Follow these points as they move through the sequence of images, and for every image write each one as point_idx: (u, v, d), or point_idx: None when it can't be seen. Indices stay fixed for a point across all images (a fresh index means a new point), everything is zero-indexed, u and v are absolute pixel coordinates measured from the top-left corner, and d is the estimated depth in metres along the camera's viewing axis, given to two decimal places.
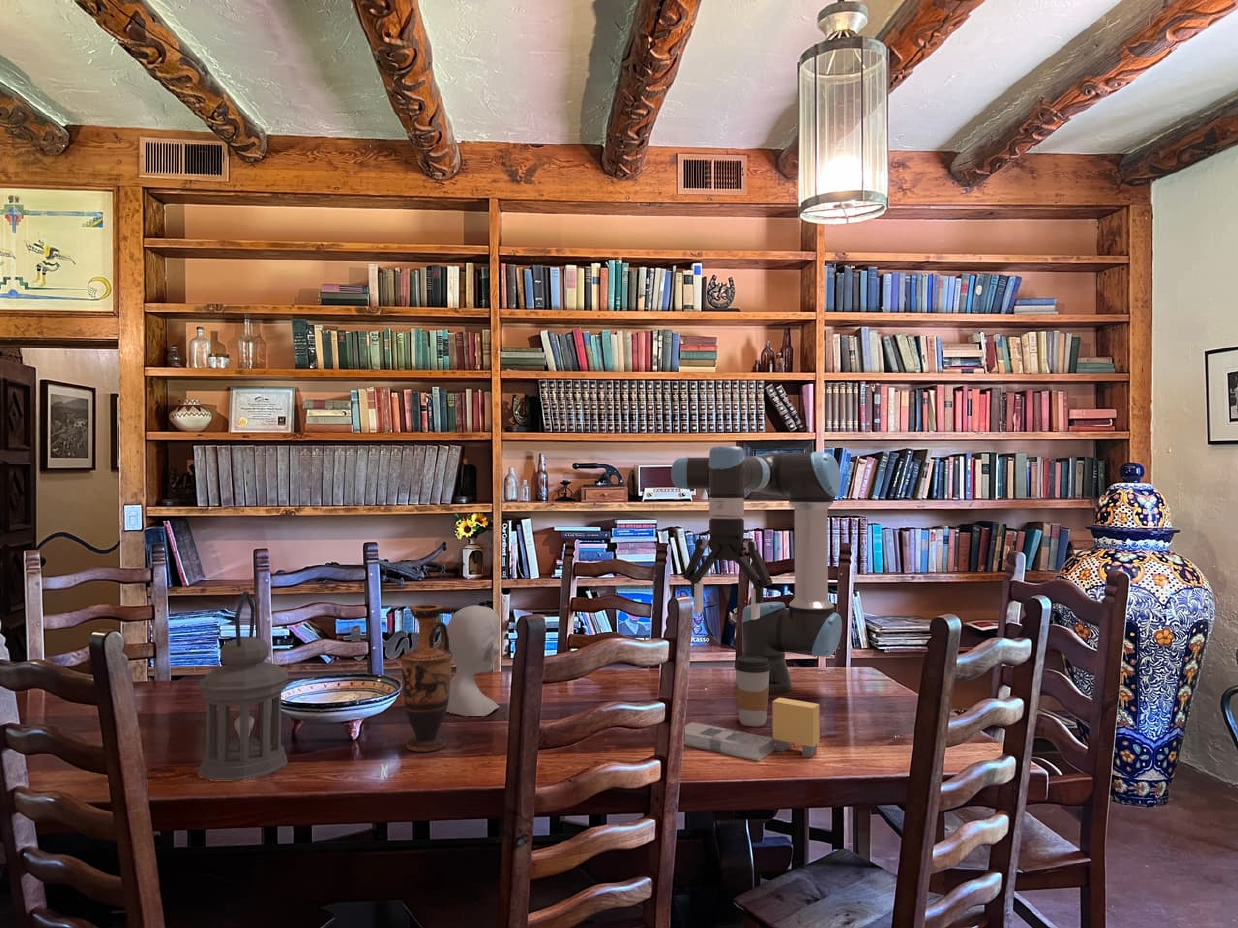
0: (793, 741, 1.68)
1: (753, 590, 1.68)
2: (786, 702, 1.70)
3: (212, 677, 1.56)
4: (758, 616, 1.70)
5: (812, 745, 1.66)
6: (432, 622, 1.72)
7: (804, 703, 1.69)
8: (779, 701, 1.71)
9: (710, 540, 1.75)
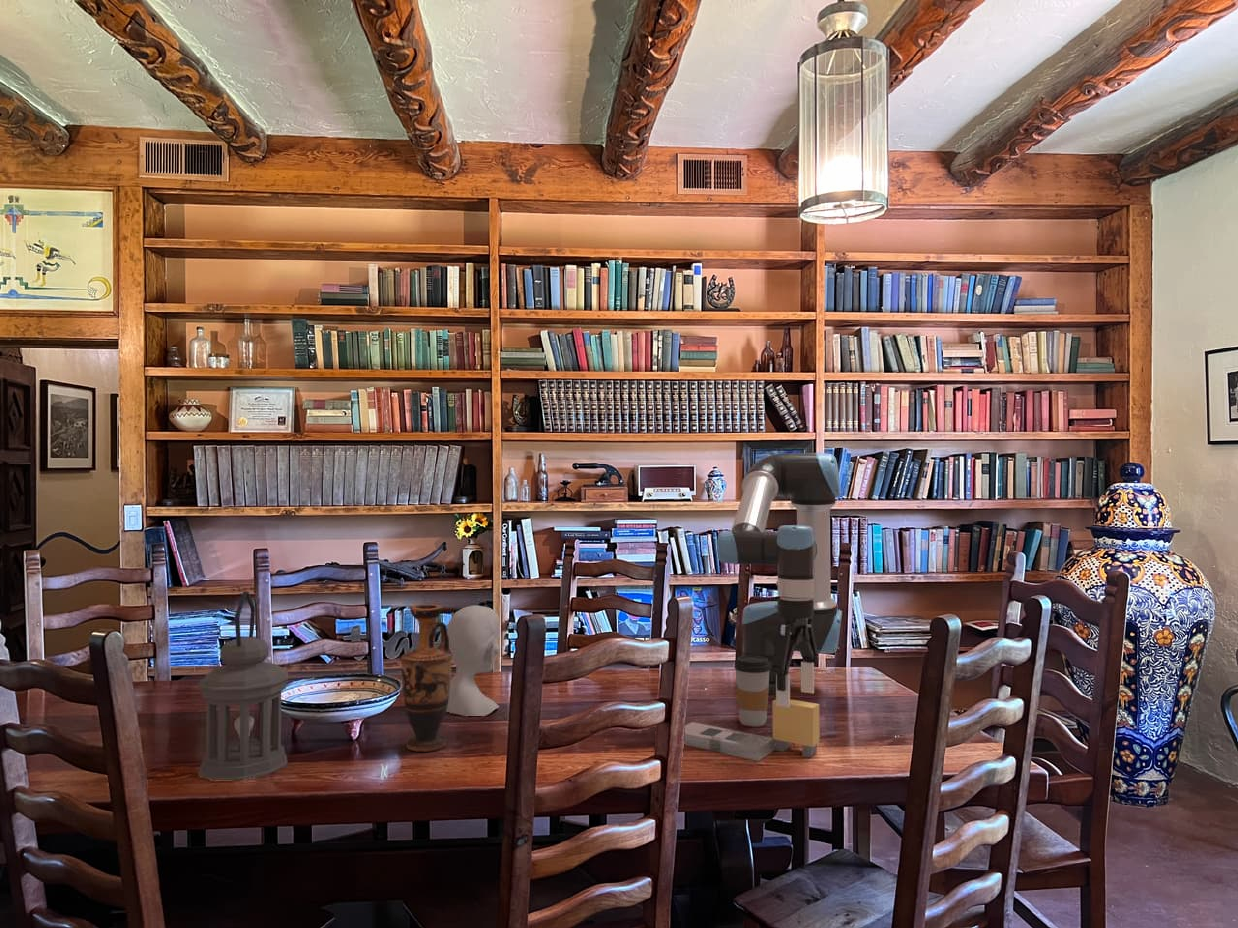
0: (793, 741, 1.68)
1: None
2: None
3: (212, 677, 1.56)
4: (785, 704, 1.63)
5: (812, 745, 1.66)
6: (432, 622, 1.72)
7: (804, 703, 1.69)
8: None
9: None
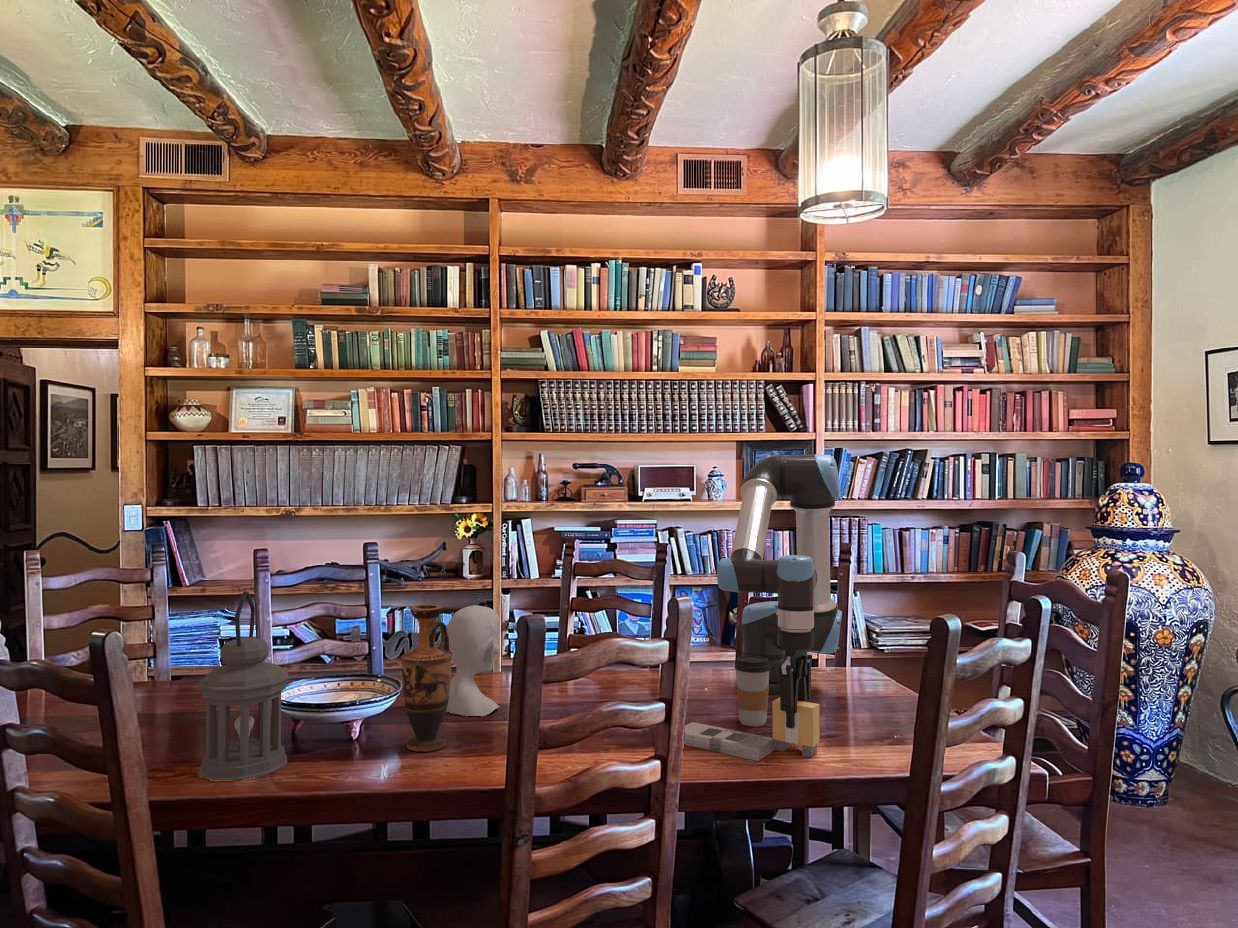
0: None
1: None
2: None
3: (212, 677, 1.56)
4: (794, 741, 1.67)
5: (812, 745, 1.66)
6: (432, 622, 1.72)
7: (804, 703, 1.69)
8: (779, 701, 1.71)
9: None
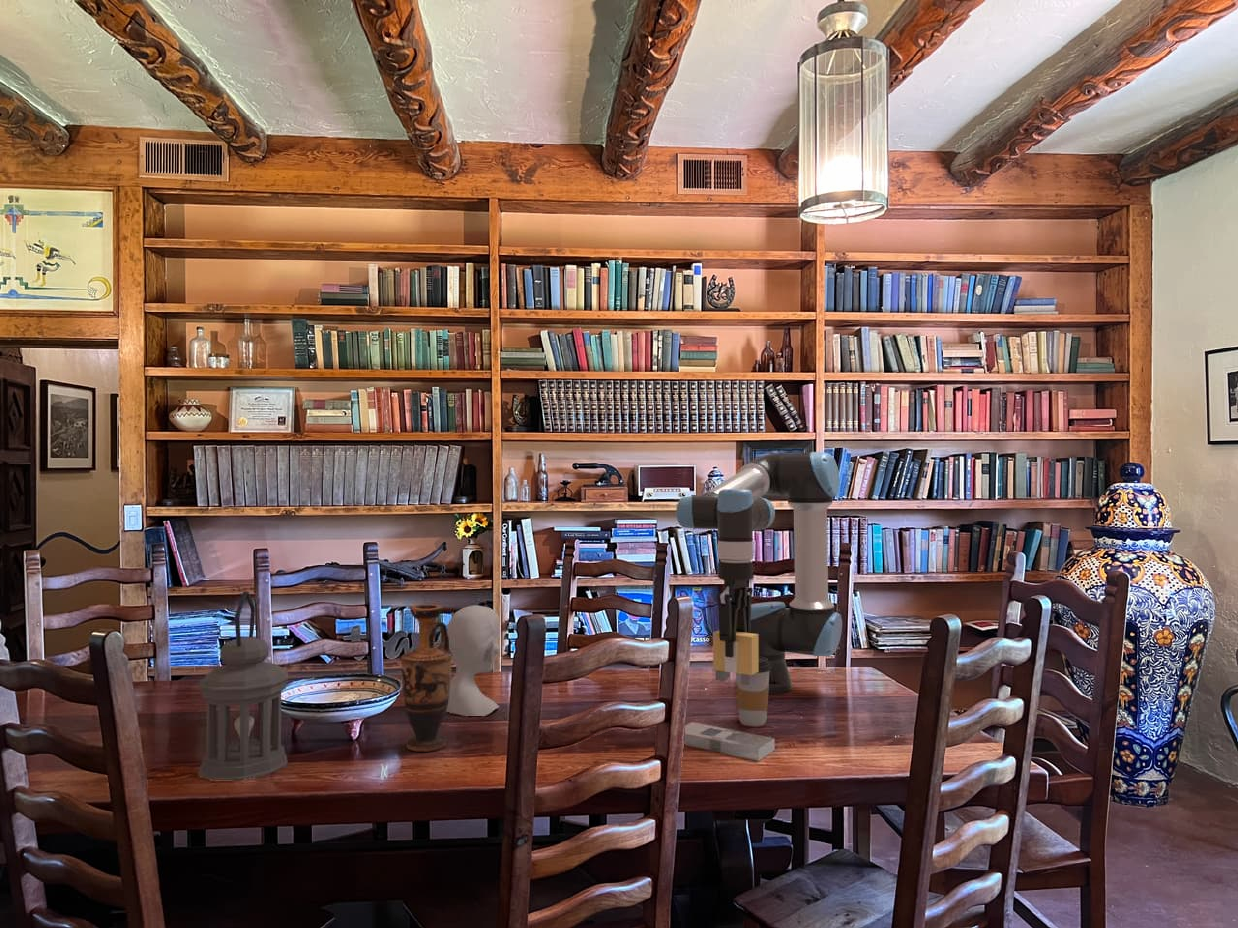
0: None
1: None
2: None
3: (212, 677, 1.56)
4: (733, 670, 1.70)
5: (751, 673, 1.68)
6: (432, 622, 1.72)
7: (743, 633, 1.72)
8: None
9: None
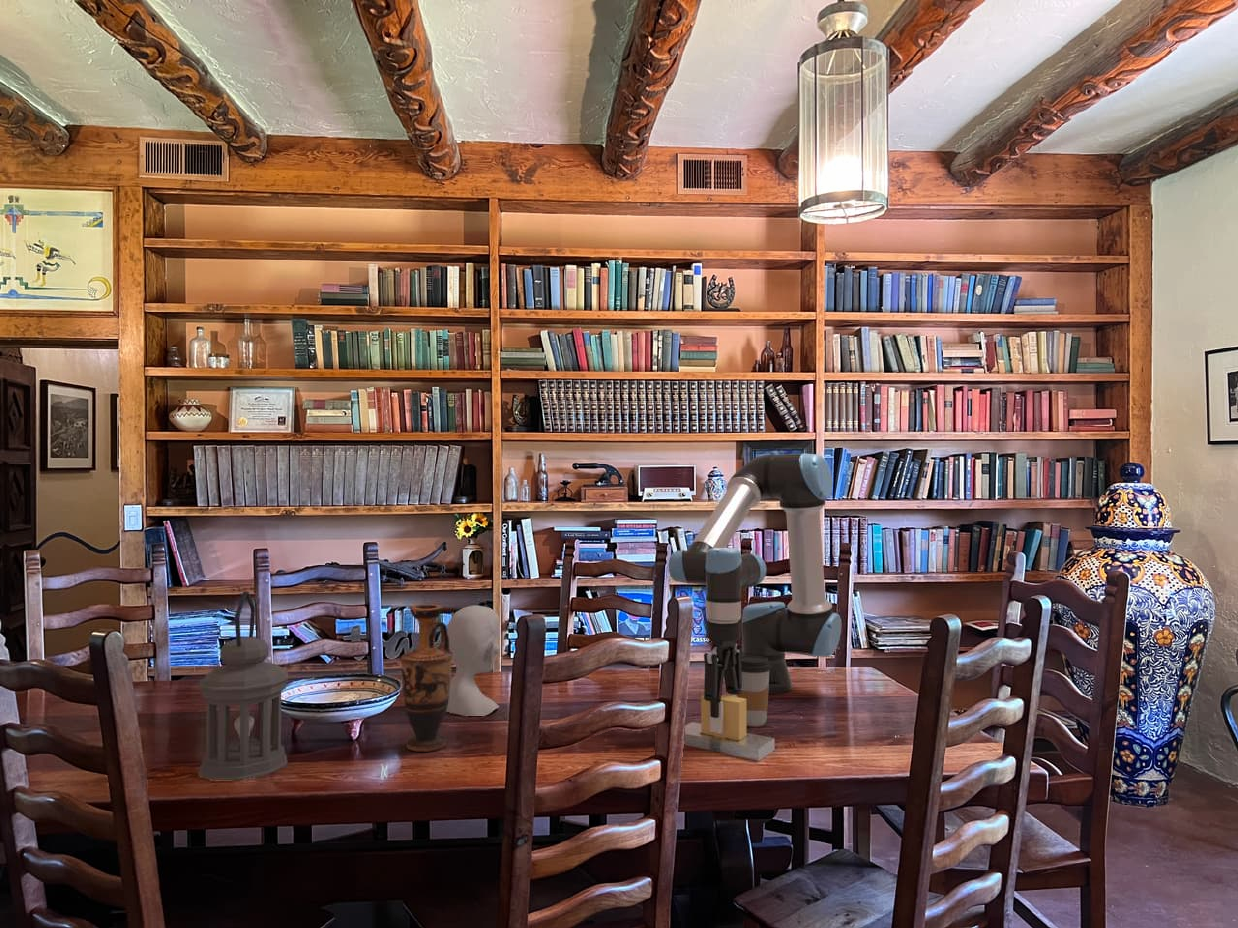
0: (720, 735, 1.71)
1: None
2: None
3: (212, 677, 1.56)
4: (718, 731, 1.69)
5: (738, 739, 1.68)
6: (432, 622, 1.72)
7: (731, 698, 1.72)
8: None
9: None
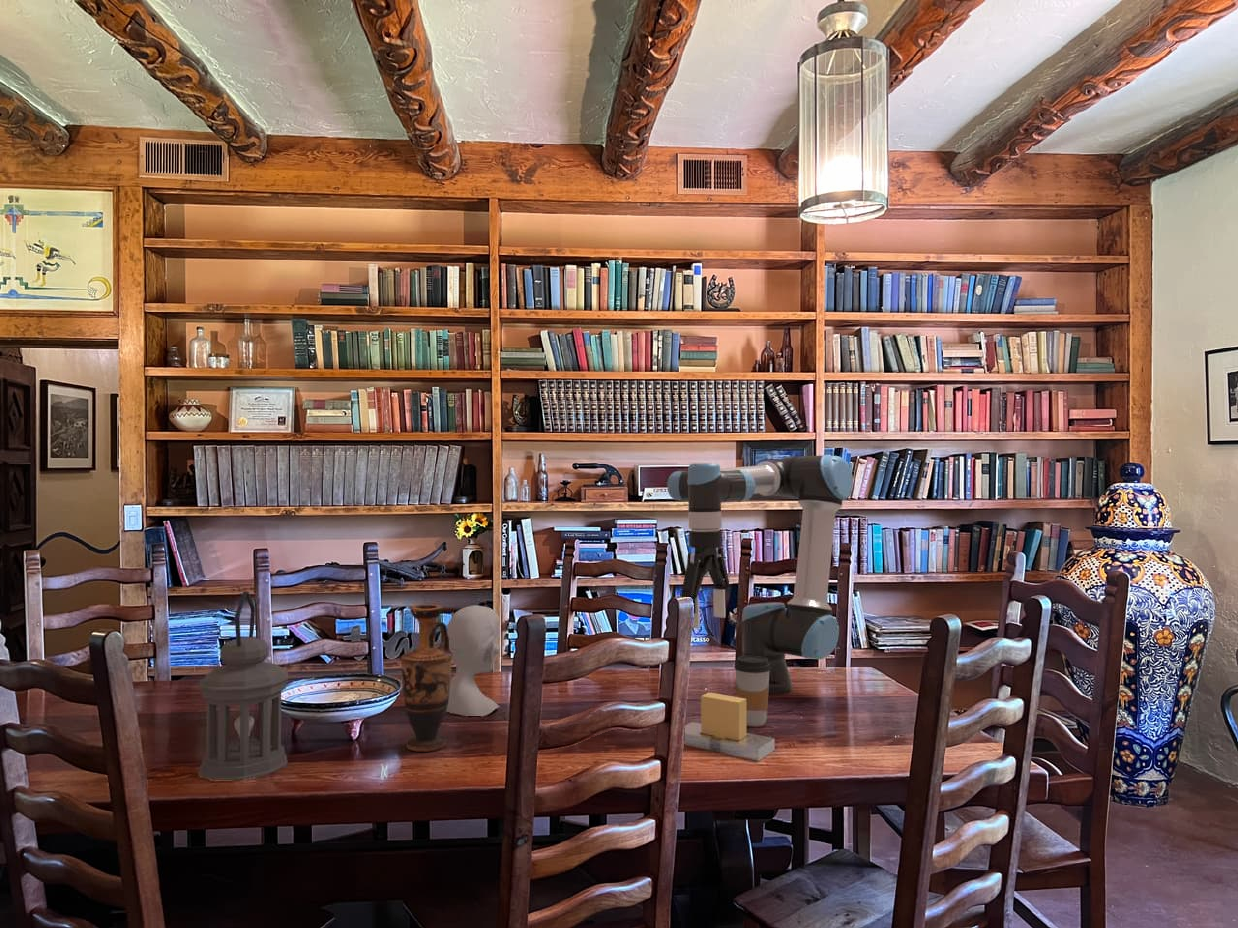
0: (720, 735, 1.71)
1: None
2: (714, 697, 1.73)
3: (212, 677, 1.56)
4: (695, 626, 1.78)
5: (738, 739, 1.68)
6: (432, 622, 1.72)
7: (731, 698, 1.72)
8: (708, 696, 1.73)
9: None
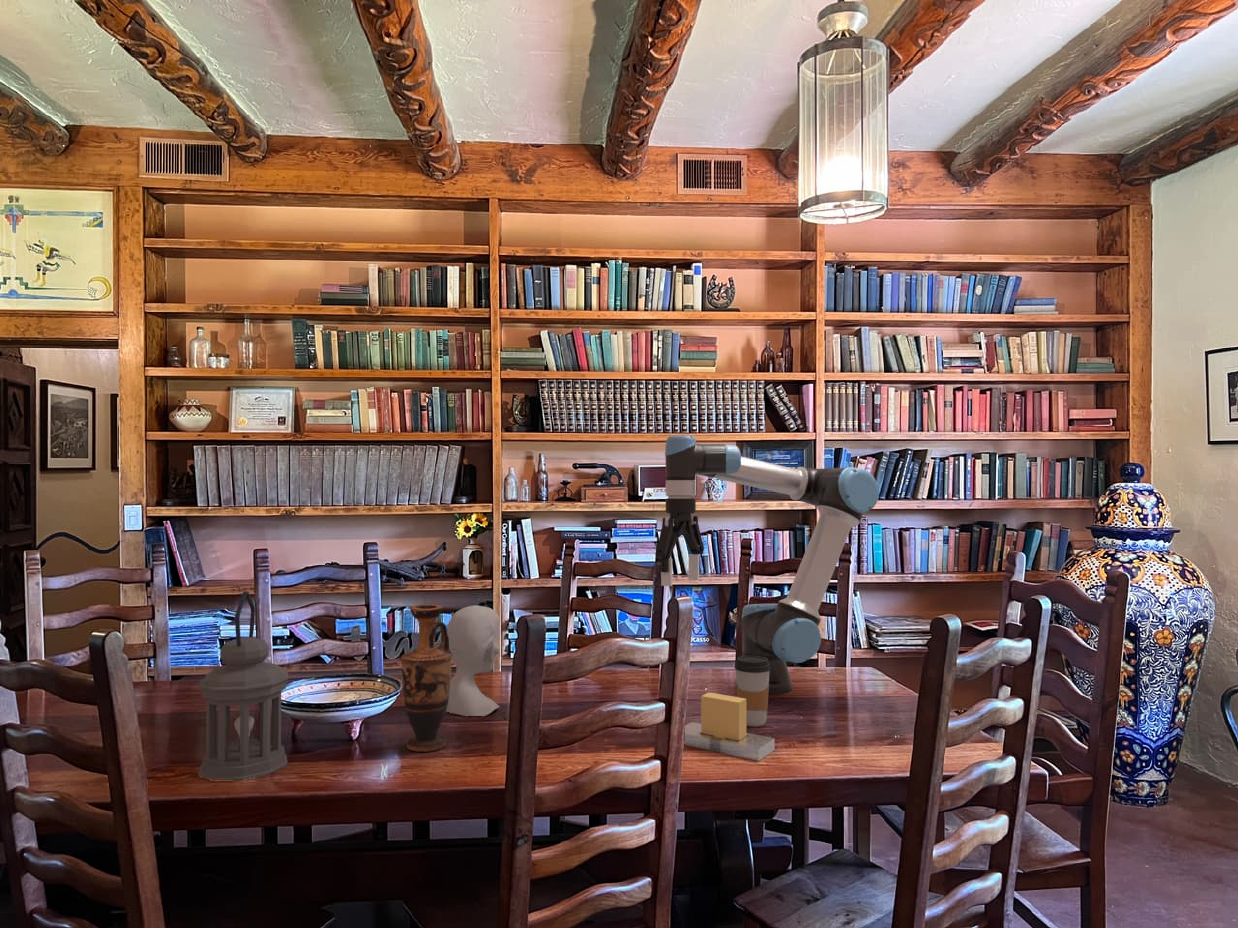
0: (720, 735, 1.71)
1: None
2: (714, 697, 1.73)
3: (212, 677, 1.56)
4: (668, 584, 1.93)
5: (738, 739, 1.68)
6: (432, 622, 1.72)
7: (731, 698, 1.72)
8: (708, 696, 1.73)
9: None
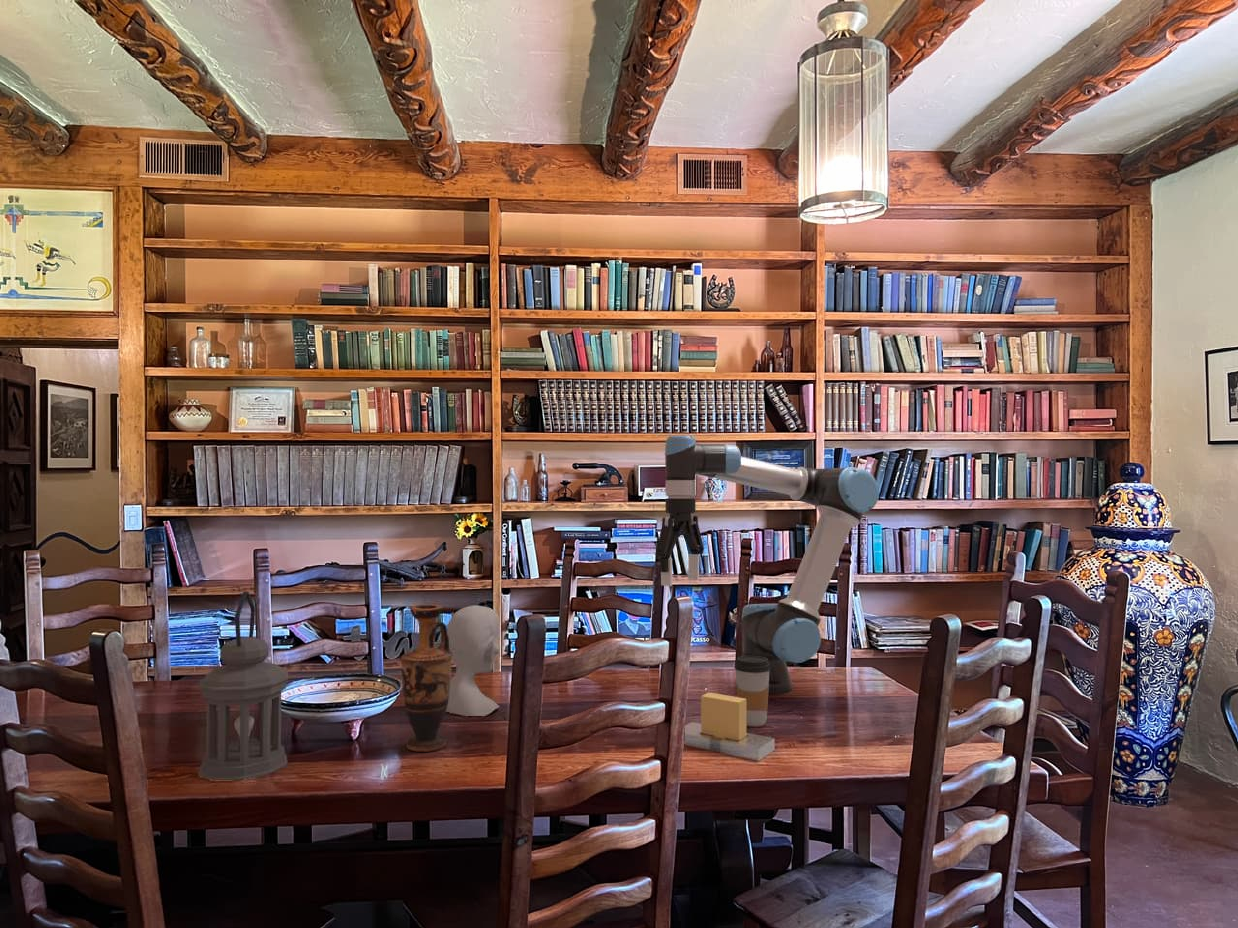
0: (720, 735, 1.71)
1: None
2: (714, 697, 1.73)
3: (212, 677, 1.56)
4: (668, 584, 1.93)
5: (738, 739, 1.68)
6: (432, 622, 1.72)
7: (731, 698, 1.72)
8: (708, 696, 1.73)
9: None
